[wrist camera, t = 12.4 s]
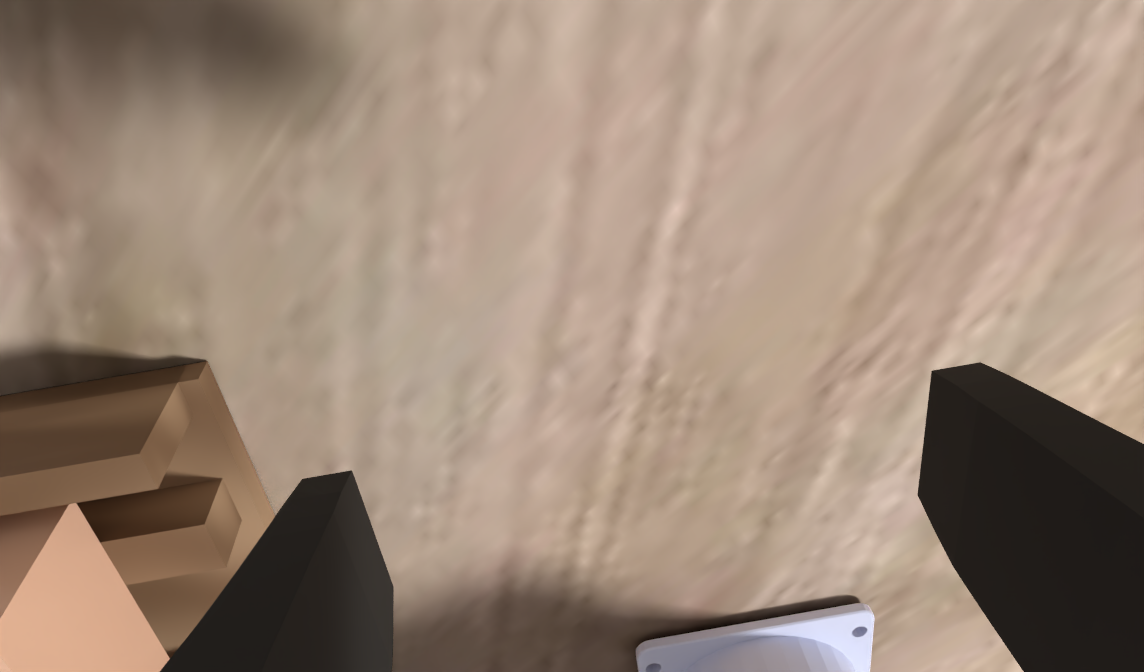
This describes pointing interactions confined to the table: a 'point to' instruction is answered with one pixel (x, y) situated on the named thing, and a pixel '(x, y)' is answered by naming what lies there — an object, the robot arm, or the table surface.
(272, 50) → the table surface
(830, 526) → the table surface
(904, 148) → the table surface
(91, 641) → the peach rectangular block
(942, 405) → the robot arm
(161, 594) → the rack
